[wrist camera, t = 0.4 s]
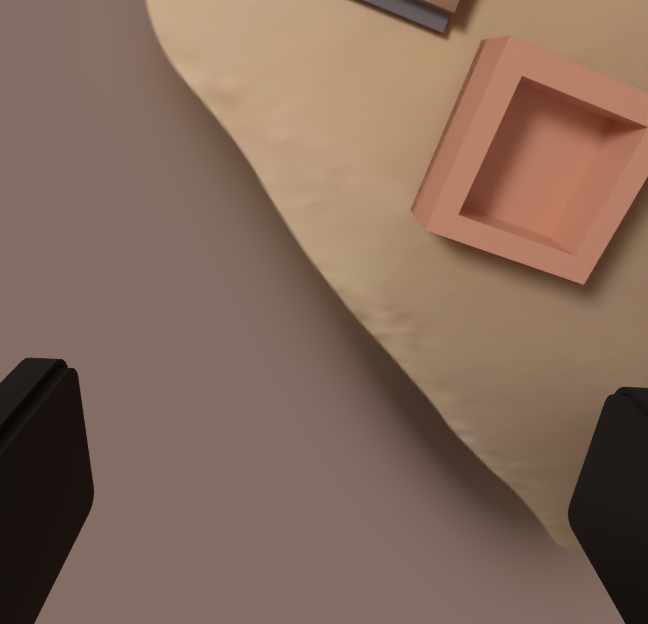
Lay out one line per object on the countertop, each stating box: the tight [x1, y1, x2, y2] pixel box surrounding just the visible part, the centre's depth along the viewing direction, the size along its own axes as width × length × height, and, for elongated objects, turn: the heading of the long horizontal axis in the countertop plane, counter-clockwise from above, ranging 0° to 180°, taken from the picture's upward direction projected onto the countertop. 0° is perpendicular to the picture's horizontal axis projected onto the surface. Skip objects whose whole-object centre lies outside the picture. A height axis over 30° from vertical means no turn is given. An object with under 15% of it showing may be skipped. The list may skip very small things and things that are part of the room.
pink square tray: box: [411, 36, 648, 285], centre depth 33 cm, size 11×11×5 cm
